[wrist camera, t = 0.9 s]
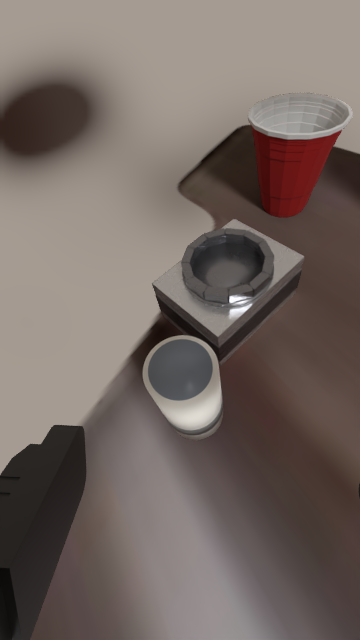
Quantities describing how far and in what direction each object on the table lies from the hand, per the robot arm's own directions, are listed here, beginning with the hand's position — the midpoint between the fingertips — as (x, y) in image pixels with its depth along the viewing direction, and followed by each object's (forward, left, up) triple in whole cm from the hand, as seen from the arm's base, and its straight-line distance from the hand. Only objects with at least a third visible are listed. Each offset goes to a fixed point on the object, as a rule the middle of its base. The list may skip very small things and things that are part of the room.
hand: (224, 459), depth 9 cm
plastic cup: (-32, -19, -20) cm, 42 cm away
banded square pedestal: (-14, -13, -20) cm, 27 cm away
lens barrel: (-3, -7, -20) cm, 21 cm away
